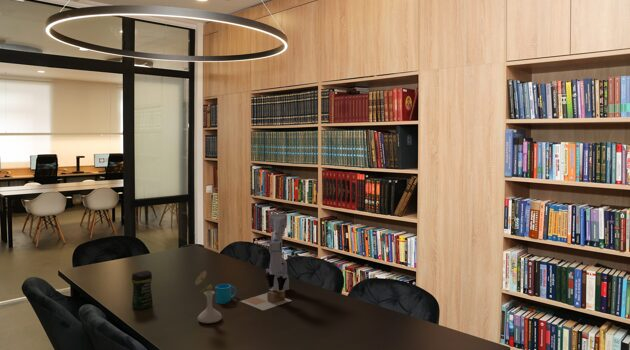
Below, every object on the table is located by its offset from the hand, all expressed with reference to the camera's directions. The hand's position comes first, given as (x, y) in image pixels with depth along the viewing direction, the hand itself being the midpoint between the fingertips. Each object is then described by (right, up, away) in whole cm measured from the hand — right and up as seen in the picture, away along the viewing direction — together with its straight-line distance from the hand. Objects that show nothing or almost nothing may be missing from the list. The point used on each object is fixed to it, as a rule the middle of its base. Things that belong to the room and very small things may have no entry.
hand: (276, 288), depth 244 cm
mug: (-27, -7, +3) cm, 28 cm away
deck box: (0, -7, +1) cm, 7 cm away
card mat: (-5, -7, 0) cm, 9 cm away
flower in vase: (-30, -9, -26) cm, 41 cm away
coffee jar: (-69, -8, -7) cm, 69 cm away
